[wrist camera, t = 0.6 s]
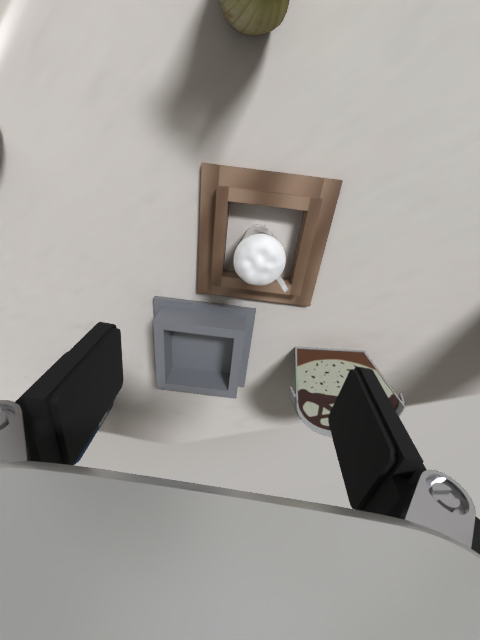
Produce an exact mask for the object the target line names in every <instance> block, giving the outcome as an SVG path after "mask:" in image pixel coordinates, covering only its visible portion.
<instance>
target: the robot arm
mask: <svg viewBox="0 0 480 640" xmlns="http://www.w3.org/2000/svg"><path fill="white" fill-rule="evenodd" d="M122 384H123V367H122V349H121V332H120V329H117V328H116V325H114V324H109V323H104V322H99V323H97V324H96V325H95V326H94V327H93V328H92V329H91V330H90V331H89V332H88V333H87V334H86V335H85V336H84V337H83V338H82V339H81V340H80V341H79V342H78V343H77V344H76V345H75V346H74V347H73V348H72V349H71V350H70V351H68V352H67V353H65V354H64V355H63V356H62V357H61V358H60V359H59V360H58V361H57V362H56V363H55V364H54V365H53V366H52V367H51V368H50V369H49V370H48V371H46V372H45V373H44V374H43V375H42V376H41V377H40V378H39V379H38V380H37V381H36V382H35V383H34V384H33V385H32V386H31V387H30V388H29V389H28V390H27V391H26V392H25V393H24V394H23V395H22V396H21V397H20V398H19V399H18V400H17V401H16V402H13V401H9V400H0V640H480V520H479V519H478V518H477V517H476V516H475V515H476V511H475V506H474V503H473V501H472V499H471V497H470V496H469V495H468V493H467V492H466V491H465V489H464V488H463V487H462V486H461V485H460V484H459V483H457V482H456V481H455V480H453V479H452V478H451V477H449V476H447V475H445V474H444V473H442V472H439V471H436V470H426V468H425V466H424V464H423V460H422V458H421V456H420V455H419V453H418V451H417V449H416V447H415V445H414V444H413V442H412V440H411V438H410V436H409V434H408V433H407V431H406V429H405V427H404V425H403V424H402V422H401V420H400V418H399V416H398V415H397V413H396V411H395V409H394V407H393V405H392V404H391V402H390V400H389V398H388V396H387V395H386V393H385V391H384V389H383V387H382V386H381V384H380V382H379V380H378V378H377V377H376V375H375V373H374V371H373V370H372V369H369V368H363V367H355V369H351V370H350V371H349V373H348V375H347V378H346V380H345V382H344V384H343V386H342V388H341V390H340V392H339V394H338V397H337V399H336V401H335V403H334V405H333V407H332V409H331V411H330V414H329V417H328V423H329V427H330V431H331V434H332V438H333V442H334V446H335V449H336V453H337V457H338V461H339V464H340V468H341V472H342V476H343V479H344V483H345V486H346V490H347V494H348V498H349V502H350V505H351V507H352V508H353V509H348V508H343V507H338V506H331V505H325V504H319V503H313V502H307V501H301V500H295V499H289V498H283V497H276V496H270V495H264V494H258V493H252V492H245V491H239V490H232V489H226V488H220V487H214V486H207V485H201V484H195V483H188V482H182V481H175V480H169V479H162V478H156V477H149V476H142V475H136V474H129V473H122V472H116V471H110V470H103V469H94V468H88V467H80V466H73V465H69V464H74V463H75V462H76V460H77V459H78V457H79V456H80V454H81V452H82V451H83V449H84V448H85V446H86V444H87V443H88V441H89V439H90V438H91V436H92V435H93V433H94V431H95V430H96V428H97V426H98V425H99V423H100V422H101V420H102V418H103V417H104V415H105V414H106V412H107V410H108V409H109V407H110V405H111V404H112V402H113V401H114V399H115V397H116V396H117V394H118V392H119V391H120V389H121V387H122ZM354 509H355V510H354Z"/></svg>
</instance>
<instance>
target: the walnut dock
mask: <svg viewBox="0 0 480 640" xmlns="http://www.w3.org/2000/svg"><path fill="white" fill-rule="evenodd" d="M342 181H343V180H336V179H328V178H320V177H312V176H304V175H296V174H288V173H280V172H272V171H264V170H256V169H248V168H240V167H232V166H224V165H216V164H208V163H202V167H201V196H200V225H199V254H198V283H197V293H205V294H213V295H221V296H229V297H237V298H245V299H254V300H262V301H270V302H278V303H286V304H294V305H302V306H310V303H311V299H312V295H313V292H314V288H315V284H316V280H317V276H318V272H319V269H320V265H321V261H322V257H323V253H324V250H325V246H326V242H327V238H328V234H329V230H330V227H331V223H332V219H333V215H334V211H335V208H336V204H337V200H338V196H339V192H340V188H341V185H342ZM229 201H232V202H240V203H248V204H256V205H264V206H272V207H280V208H288V209H296V210H304V214H303V219H302V224H301V228H300V233H299V238H298V243H297V247H296V252H295V257H294V262H293V266H292V271H291V276H290V279H286V278H282V279H283V281H284V283H285V284H286V286H287V287H288V291H287V292H285V293H284V291H283V289H282V288H281V286H280V284H279V283H278V281H277V279H276V280H274V281H273V282H271V283H269V284H267V285H252V284H248V283H247V282H245V281H244V280H243V279H242V278H240V277H239V275H238V274H237V273H236V272H229V271H224V262H225V250H226V238H227V225H228V213H229Z"/></svg>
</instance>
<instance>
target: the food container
mask: <svg viewBox="0 0 480 640" xmlns="http://www.w3.org/2000/svg"><path fill="white" fill-rule="evenodd" d="M355 367H363V368H369V369H372V370H373V371H374V373H375V375H376V377H377V378H378V380H379V382H380V384H381V386H382V387H383V389H384V391H385V393H386V395H387V396H388V398H389V400H390V402H391V404H392V405H393V407H394V409H395V411H396V413H397V415H398V416H400V414H401V413H402V412H403V410H404V408H405V406H404V403H405V401H404V399H403V396H402V393H400V394H399V396H397V394H396V393H395V392H394V390H393V389H392V387H391V386H390V385H389V383H388V382H387V381H386V379H385V378H384V377H383V375H382V374H381V373H380V371H379V370H378V369H377V367H376V366H375V365H374V363H373V362H372V361H371V359H370V358H369V356H368V355H367V354H366V352H365V351H364V350H345V349H327V348H309V347H295V385H296V395H295V393H294V391H293V389H292V387H290V397H291V401H292V403H293V406H294V408H295V410H296V413H297V414H298V416H299V417H300V419H301V420H302V421H303V423H304V424H305V425H306V426H307V427H309V428H310V429H311V430H313V431H315V432H317V433H319V434H321V435H324V436H328V437H332V434H331V431H330V427H329V423H328V417H329V414H330V411H331V409H332V407H333V405H334V403H335V401H336V399H337V397H338V394H339V392H340V390H341V388H342V386H343V384H344V382H345V380H346V378H347V375H348V373H349V371H350V370H351V369H355Z"/></svg>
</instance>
